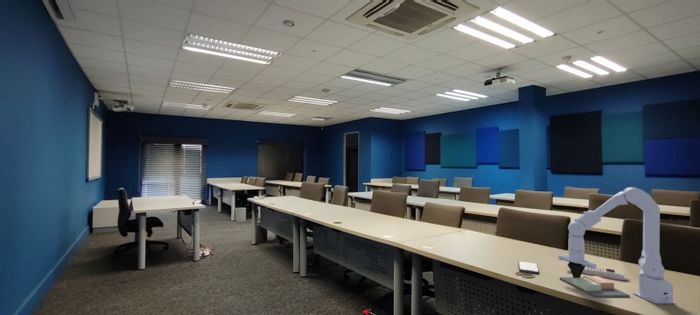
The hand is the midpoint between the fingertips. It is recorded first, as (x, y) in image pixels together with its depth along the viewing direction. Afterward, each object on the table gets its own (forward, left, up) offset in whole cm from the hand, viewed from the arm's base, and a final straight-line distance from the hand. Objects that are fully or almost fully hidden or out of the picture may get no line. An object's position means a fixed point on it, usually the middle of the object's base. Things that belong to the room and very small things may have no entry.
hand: (576, 280), depth 139 cm
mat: (-3, -4, -2) cm, 6 cm away
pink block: (-3, -7, -2) cm, 8 cm away
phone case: (+22, +8, -2) cm, 23 cm away
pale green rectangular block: (-5, 0, -2) cm, 6 cm away
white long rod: (+13, -19, -2) cm, 23 cm away
